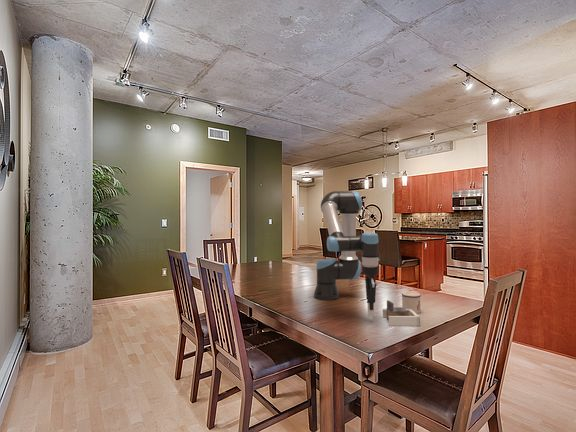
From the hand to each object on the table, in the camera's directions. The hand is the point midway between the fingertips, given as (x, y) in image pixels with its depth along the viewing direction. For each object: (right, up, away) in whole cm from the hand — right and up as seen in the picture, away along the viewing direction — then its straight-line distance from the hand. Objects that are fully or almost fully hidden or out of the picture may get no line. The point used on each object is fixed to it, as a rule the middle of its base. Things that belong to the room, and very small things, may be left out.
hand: (370, 316), depth 146 cm
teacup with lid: (+25, -2, +15) cm, 29 cm away
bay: (+13, -2, -1) cm, 13 cm away
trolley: (+12, -2, -1) cm, 12 cm away
